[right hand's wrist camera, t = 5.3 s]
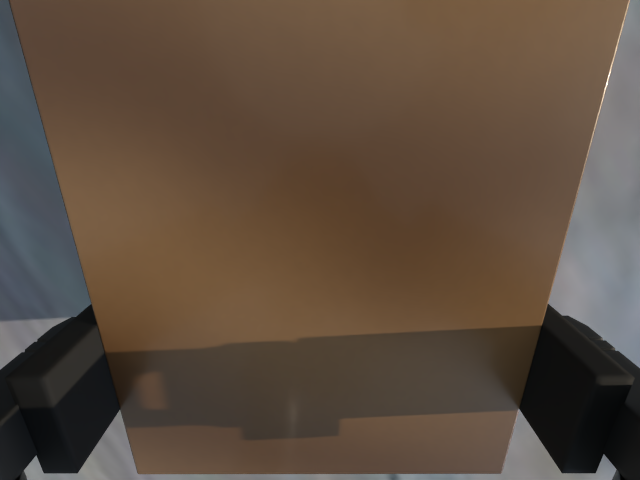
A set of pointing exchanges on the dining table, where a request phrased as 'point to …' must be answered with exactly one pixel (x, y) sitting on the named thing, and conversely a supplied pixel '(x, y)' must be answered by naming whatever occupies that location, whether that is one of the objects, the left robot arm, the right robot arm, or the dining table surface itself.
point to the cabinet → (319, 216)
